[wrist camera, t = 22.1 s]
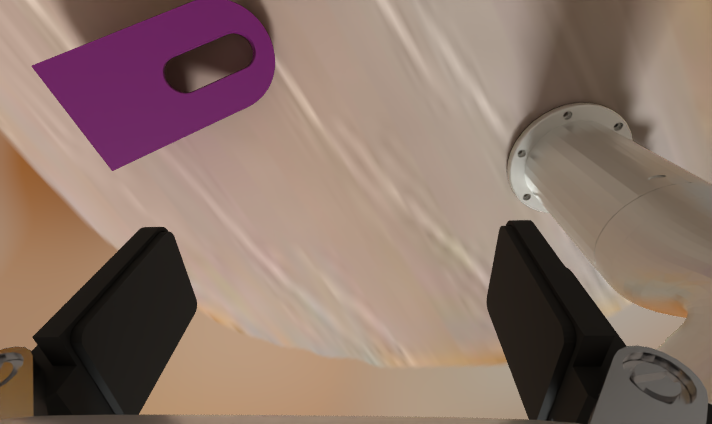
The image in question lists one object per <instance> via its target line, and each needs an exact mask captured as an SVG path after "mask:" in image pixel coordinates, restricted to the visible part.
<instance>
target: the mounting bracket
mask: <svg viewBox="0 0 712 424" xmlns="http://www.w3.org/2000/svg"><path fill="white" fill-rule="evenodd" d="M232 33H235V34H239V35H241V36H243V37H245V38H246V39H247V40H248V41H249V43H250V45H251V47H252V50H253V58H252V61H251V63H250V64H249V65H248V66H247V67H246V68H244V69H242V70H239V71H237V72H235V73H233V74H230V75H228V76H226V77H224V78H222V79H219V80H217V81H215V82H213V83H210V84H208V85H206V86H204V87H202V88H199V89H197V90H195V91H193V92H188V93H184V92H180V91H177V90H175V89H174V88H173V87H171V86H170V84H169V83H168V82H167V80H166V77H165V66H166V64H167V62H168V61H169V60H170V59H172V58H174V57H176V56H178V55H180V54H183V53H185V52H188V51H190V50H192V49H195V48H197V47H199V46H202V45H204V44H206V43H209V42H211V41H213V40H216V39H218V38H220V37H223V36H225V35H227V34H232ZM32 68H33V69H34V70H35V71H36V73H37V74H38V75H39V77H40V78H41V79H42V80H43V82H44V83H45V84H46V86H47V87H48V88H49V90H50V91H51V92H52V93H53V95H54V96H55V97H56V99H57V100H58V101H59V103H60V104H61V105H62V106H63V108H64V109H65V110H66V112H67V113H68V114H69V116H70V117H71V118H72V119H73V121H74V122H75V123H76V125H77V126H78V127H79V129H80V130H81V131H82V132H83V134H84V135H85V136H86V138H87V139H88V140H89V141H90V143H91V144H92V145H93V147H94V148H95V149H96V151H97V152H98V153H99V154H100V156H101V157H102V158H103V160H104V161H105V162H106V164H107V165H108V166H109V167H110V169H111V170H112V171H113V170H116V169H118V168H120V167H122V166H124V165H126V164H128V163H130V162H133V161H135V160H137V159H139V158H141V157H143V156H145V155H147V154H149V153H152V152H154V151H156V150H158V149H160V148H162V147H164V146H166V145H168V144H171V143H173V142H175V141H177V140H179V139H181V138H183V137H185V136H187V135H190V134H192V133H194V132H196V131H198V130H200V129H202V128H204V127H206V126H209V125H211V124H213V123H215V122H217V121H219V120H221V119H223V118H226V117H228V116H230V115H232V114H234V113H236V112H238V111H240V110H242V109H245V108H247V107H249V106H251V105H252V104H254V103H255V102H257V101H258V100H259V99H260V98H261V97H262V96H263V95H264V94H265V92H266V91H267V90H268V88H269V86H270V84H271V81H272V79H273V75H274V70H275V55H274V49H273V45H272V42H271V39H270V37H269V35H268V33H267V31H266V30H265V28H264V27H263V25H262V24H261V22H260V21H259V20H258V19H257V18H256V17H255V16H254V15H253V14H252V13H251V12H249V11H248V10H247V9H245V8H244V7H242V6H241V5H239V4H237V3H234V2H232V1H229V0H195V1H192V2H190V3H187V4H185V5H182V6H180V7H177V8H175V9H172V10H170V11H167V12H165V13H162V14H160V15H157V16H155V17H152V18H150V19H147V20H145V21H142V22H140V23H137V24H135V25H132V26H130V27H127V28H125V29H122V30H120V31H117V32H115V33H112V34H110V35H107V36H105V37H102V38H100V39H97V40H95V41H92V42H90V43H87V44H85V45H82V46H80V47H77V48H75V49H72V50H70V51H67V52H65V53H62V54H60V55H57V56H55V57H52V58H50V59H47V60H45V61H42V62H40V63H37V64H35V65H32Z"/></svg>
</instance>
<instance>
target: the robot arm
mask: <svg viewBox="0 0 712 424" xmlns="http://www.w3.org/2000/svg"><path fill="white" fill-rule="evenodd" d="M565 112H566V114H565V115H564V113H565ZM520 150H521V151H520ZM519 151H520V152H519ZM518 152H519V153H518ZM507 175H508V181H509V184H510V186H511V189H512V190H513V192H514V193H515V195H516V196H517V198H518V199H519V200H520V201H521V202H522V203H523V204H525V205H526V206H528V207H529V208H531V209H534V210H536V211H539V212H544V213H550V214H551V216H552V217H553V218H554V219H555V220H556V222H557V223H558V224H559V225H560V226H561V228H562V229H563V230H564V231H565V232H566V234H567V235H568V236H569V237H570V238H571V240H572V241H573V242H574V243H575V244H576V246H577V247H578V248H579V249H580V251H581V252H582V253H583V254H584V255H585V257H586V258H587V259H588V260H589V261H590V263H591V264H592V265H593V266H594V267H595V268H596V270H597V271H598V272H599V273H600V274H601V275H602V277H603V278H604V279H605V280H606V281H607V283H608V284H609V285H610V286H611V287H612V288H613V289H614V290H615V291H616V292H617V293H618V294H620V295H621V296H622V297H624V298H625V299H627V300H629V301H630V302H632V303H634V304H636V305H638V306H640V307H643V308H646V309H649V310H652V311H655V312H658V313H663V314H668V315H672V316H677V317H683V318H686V320H685V322H684V323H683V324H682V325H681V326H680V327H679V328H678V329H677V330H676V331H675V332H674V333H673V334H671V335H670V336H669V337H668V338H667V339H666V340H665V342H664V343H663V344H662V345H661V346H659V347H658V348H657V349H656V350H655V349H652V348H649V347H642V346H626V345H625V343H624V342H623V341H622V339H621V338H620V337H619V335H618V334H617V333H616V331H615V330H614V328H613V327H612V326H611V324H610V323H609V322H608V320H607V319H606V318H605V316H604V315H603V313H602V312H601V311H600V309H599V308H598V307H597V305H596V304H595V303H594V301H593V300H592V299H591V297H590V296H589V294H588V293H587V292H586V290H585V289H584V288H583V286H582V285H581V284H580V282H579V281H578V280H577V278H576V277H575V275H574V274H573V273H572V272H571V271H570V270H569V269H568V268H566V267H565V266H564V264H563V263H562V262H561V260H560V259H559V258H558V256H557V255H556V253H555V252H554V251H553V249H552V248H551V247H550V245H549V244H548V242H547V241H546V240H545V238H544V237H543V236H542V234H541V233H540V231H539V230H538V229H537V227H536V226H535V224H534V223H533V222H532V221H530V220H517V221H508V222H507V224H506V226H501V227H500V230H499V234H498V240H497V245H496V251H495V256H494V262H493V267H492V273H491V278H490V283H489V289H488V294H487V308H488V312H489V315H490V317H491V320H492V323H493V325H494V328H495V331H496V333H497V336H498V339H499V341H500V344H501V346H502V349H503V352H504V354H505V357H506V360H507V362H508V365H509V368H510V370H511V373H512V376H513V378H514V381H515V383H516V386H517V389H518V392H519V394H520V397H521V400H522V402H523V405H524V408H525V410H526V413H527V416H528V418H529V420H524V419H523V420H522V419H491V418H489V419H488V418H455V417H384V416H382V417H381V416H380V417H379V416H291V415H290V416H289V415H287V416H286V415H283V416H282V415H139V413H140V411H141V409H142V408H143V406H144V404H145V402H146V400H147V399H148V397H149V395H150V393H151V391H152V390H153V388H154V386H155V384H156V382H157V381H158V379H159V377H160V375H161V373H162V372H163V370H164V368H165V366H166V364H167V363H168V361H169V359H170V357H171V355H172V354H173V352H174V350H175V348H176V346H177V345H178V342H179V341H180V339H181V337H182V336H183V334H184V332H185V330H186V328H187V327H188V325H189V323H190V321H191V319H192V317H193V316H194V314H195V312H196V309H197V300H196V297H195V294H194V291H193V289H192V286H191V283H190V280H189V277H188V274H187V271H186V269H185V266H184V263H183V260H182V257H181V254H180V252H179V249H178V246H177V243H176V240H175V237H174V235H173V234H172V233H171V232H168V230H167V229H166V228H164V227H144V228H141V229H140V230H138V231H137V232H136V234H135V235H134V236H133V237H132V238H131V239H130V240H129V241H128V242H127V243H126V244H125V245H124V246H123V247H122V248H121V249H120V250H119V251H118V252H117V253H116V254H115V255H114V256H113V257H112V258H111V259H110V260H109V261H108V262H107V263H106V264H105V265H104V266H103V267H102V268H101V269H100V270H99V271H98V272H97V273H96V274H95V275H94V276H93V277H92V278H91V279H90V280H89V281H88V282H87V283H86V284H85V285H84V286H83V287H82V288H81V289H80V290H79V291H78V292H77V293H76V294H75V295H74V296H73V297H72V298H71V299H70V300H69V301H68V302H67V303H66V304H65V305H64V306H63V307H62V308H61V309H60V310H59V311H58V312H57V313H56V314H55V315H54V316H53V317H52V318H51V319H50V320H49V321H48V322H47V323H46V324H45V325H44V326H43V327H42V328H41V329H40V330H39V331H38V332H37V333H36V334H35V335H34V336H33V339H34V340H35V342H36V343H37V344H38V345H37V346H36V347H35V348H34V349H33V350H32V352H31V350H29V349H27V348H25V347H10V348H4V349H2V350H0V424H712V184H710V183H708V182H706V181H705V180H703V179H701V178H699V177H697V176H695V175H694V174H692V173H690V172H688V171H686V170H685V169H683V168H681V167H679V166H677V165H675V164H674V163H672V162H670V161H668V160H666V159H664V158H663V157H661V156H659V155H657V154H655V153H653V152H652V151H650V150H648V149H646V148H644V147H642V146H641V145H639V144H637V143H635V142H633V139H632V134H631V130H630V128H629V126H628V124H627V122H626V121H625V120H624V119H623V118H622V117H621V116H620V115H619V114H617V113H616V112H614V111H613V110H611V109H609V108H607V107H604V106H602V105H598V104H593V103H574V104H568V105H564V106H561V107H558V108H555V109H553V110H551V111H549V112H547V113H545V114H544V115H542V116H540V117H539V118H538V119H536V120H535V121H534V122H532V123H531V124H530V125H529V126H528V127H527V128H526V129H525V130H524V131H523V132H522V134H521V135H520V137H519V138H518V139H517V141H516V142H515V144H514V146H513V148H512V150H511V153H510V156H509V160H508V167H507Z"/></svg>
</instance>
